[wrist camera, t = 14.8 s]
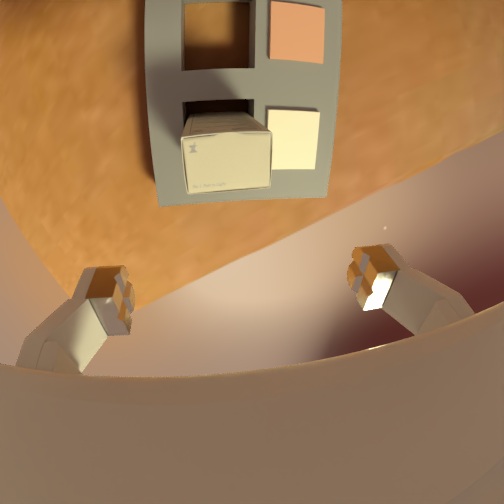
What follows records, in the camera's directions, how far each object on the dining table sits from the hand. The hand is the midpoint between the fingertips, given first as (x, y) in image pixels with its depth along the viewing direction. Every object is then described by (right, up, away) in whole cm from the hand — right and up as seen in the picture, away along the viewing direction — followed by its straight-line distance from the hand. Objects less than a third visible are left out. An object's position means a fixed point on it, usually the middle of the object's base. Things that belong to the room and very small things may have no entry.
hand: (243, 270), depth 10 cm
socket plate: (-1, +18, +15) cm, 24 cm away
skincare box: (-3, +14, +18) cm, 23 cm away
